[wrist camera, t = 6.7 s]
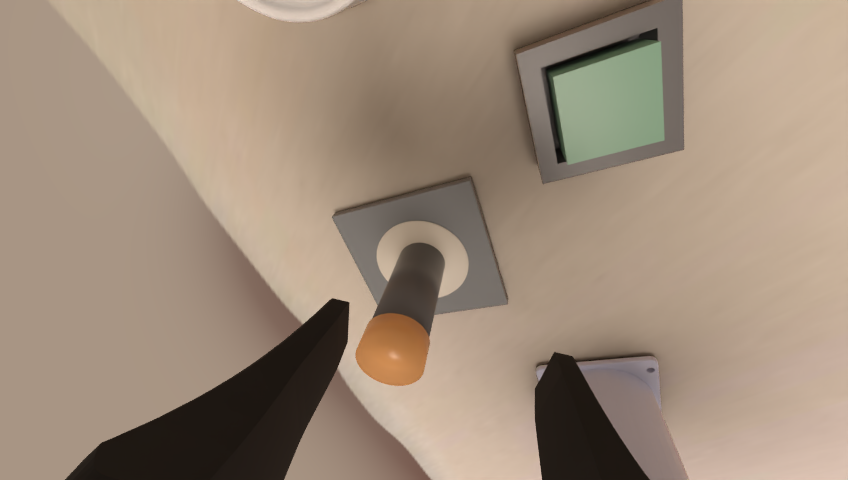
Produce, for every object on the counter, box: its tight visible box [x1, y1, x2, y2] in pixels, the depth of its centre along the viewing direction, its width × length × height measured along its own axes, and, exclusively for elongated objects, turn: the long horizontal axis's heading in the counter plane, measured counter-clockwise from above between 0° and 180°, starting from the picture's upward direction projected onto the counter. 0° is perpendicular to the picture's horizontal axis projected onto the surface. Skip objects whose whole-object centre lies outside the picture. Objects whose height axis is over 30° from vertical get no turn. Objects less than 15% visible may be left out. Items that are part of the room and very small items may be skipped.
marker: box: [356, 243, 445, 386], centre depth 20 cm, size 3×3×8 cm
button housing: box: [514, 0, 684, 184], centre depth 16 cm, size 6×6×2 cm
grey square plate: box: [332, 177, 508, 315], centre depth 23 cm, size 9×9×1 cm
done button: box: [546, 38, 665, 165], centre depth 15 cm, size 4×4×2 cm
